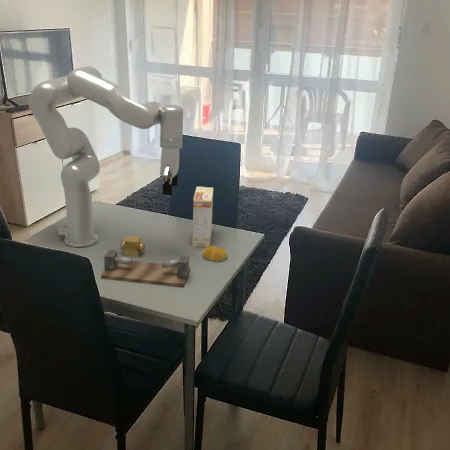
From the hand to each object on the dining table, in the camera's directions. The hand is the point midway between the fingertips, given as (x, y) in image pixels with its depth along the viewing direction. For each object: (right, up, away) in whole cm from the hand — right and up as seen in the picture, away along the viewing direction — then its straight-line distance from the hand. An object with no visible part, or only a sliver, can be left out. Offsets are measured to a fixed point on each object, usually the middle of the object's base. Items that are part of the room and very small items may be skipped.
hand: (170, 189), depth 176 cm
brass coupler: (-15, -23, +8) cm, 28 cm away
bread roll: (+15, -25, +9) cm, 31 cm away
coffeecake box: (+10, -18, +23) cm, 31 cm away
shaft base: (-7, -29, -5) cm, 31 cm away
